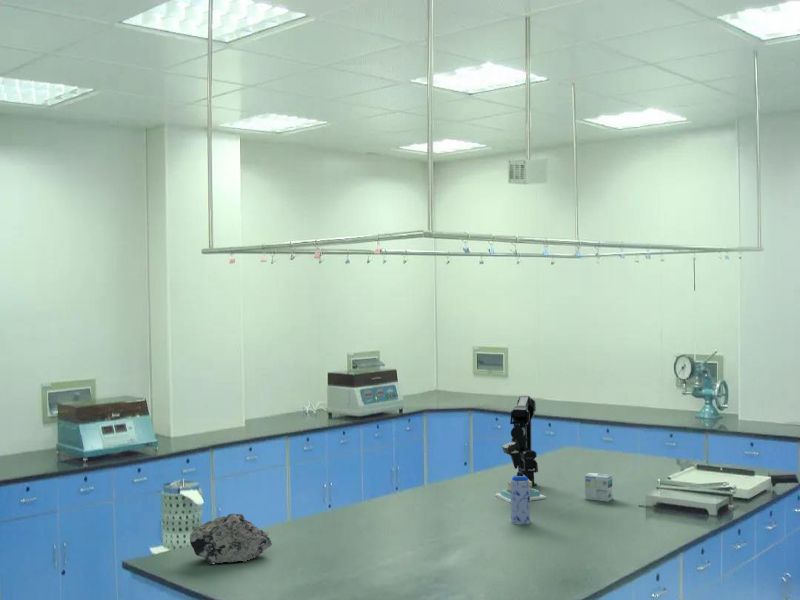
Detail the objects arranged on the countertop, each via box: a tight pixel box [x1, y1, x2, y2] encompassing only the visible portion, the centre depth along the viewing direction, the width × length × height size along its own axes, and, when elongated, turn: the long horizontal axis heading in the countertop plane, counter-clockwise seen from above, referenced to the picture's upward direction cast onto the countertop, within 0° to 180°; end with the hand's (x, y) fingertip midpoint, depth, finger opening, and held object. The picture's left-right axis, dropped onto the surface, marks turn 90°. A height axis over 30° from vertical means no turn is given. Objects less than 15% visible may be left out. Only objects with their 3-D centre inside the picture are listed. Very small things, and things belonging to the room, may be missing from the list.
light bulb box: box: [584, 472, 614, 502], centre depth 368 cm, size 11×7×11 cm, turn 58°
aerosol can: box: [510, 471, 531, 526], centre depth 333 cm, size 8×8×20 cm
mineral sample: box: [189, 513, 273, 565], centre depth 292 cm, size 27×19×15 cm
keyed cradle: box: [494, 487, 547, 504], centre depth 373 cm, size 14×18×3 cm
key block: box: [507, 481, 533, 493], centre depth 373 cm, size 10×4×6 cm, turn 111°
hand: (520, 470), depth 375 cm, fingers open, 9 cm apart
